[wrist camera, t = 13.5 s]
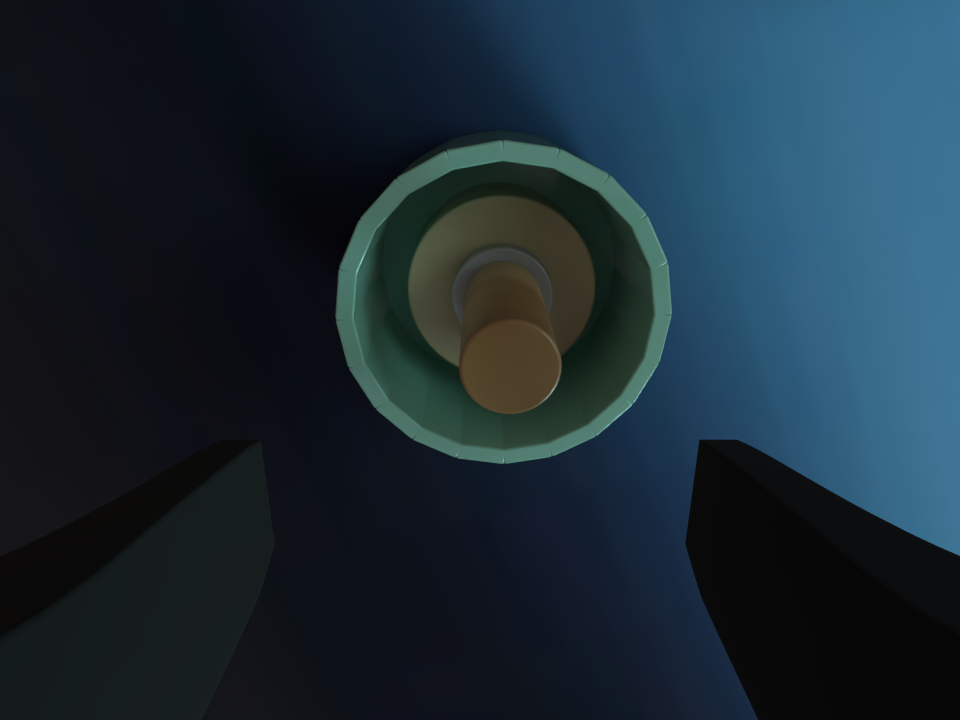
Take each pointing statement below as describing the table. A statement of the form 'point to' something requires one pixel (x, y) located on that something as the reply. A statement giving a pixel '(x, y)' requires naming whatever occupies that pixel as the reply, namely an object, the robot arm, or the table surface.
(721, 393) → the table surface
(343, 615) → the table surface
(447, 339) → the rubber stamp
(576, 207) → the bucket
